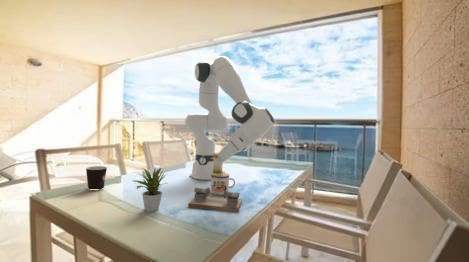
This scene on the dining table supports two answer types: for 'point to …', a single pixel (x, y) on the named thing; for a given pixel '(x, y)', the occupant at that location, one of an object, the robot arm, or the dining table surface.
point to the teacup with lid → (220, 183)
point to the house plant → (151, 190)
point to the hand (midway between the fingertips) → (216, 163)
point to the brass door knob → (217, 169)
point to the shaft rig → (215, 200)
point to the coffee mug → (96, 177)
